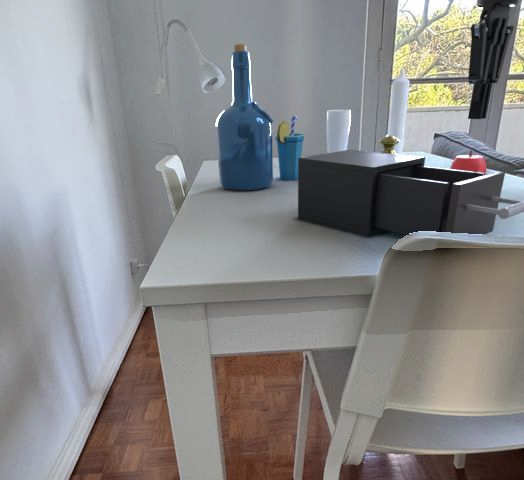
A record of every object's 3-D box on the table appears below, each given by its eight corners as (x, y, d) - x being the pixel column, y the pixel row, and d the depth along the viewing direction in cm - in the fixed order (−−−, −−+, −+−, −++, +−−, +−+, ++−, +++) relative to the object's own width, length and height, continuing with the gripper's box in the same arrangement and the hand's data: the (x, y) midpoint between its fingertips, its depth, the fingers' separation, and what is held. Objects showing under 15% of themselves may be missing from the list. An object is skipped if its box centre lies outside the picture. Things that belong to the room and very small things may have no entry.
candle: (404, 164, 141) (414, 66, 129) (406, 167, 135) (417, 66, 123) (379, 164, 142) (388, 68, 130) (380, 167, 136) (389, 67, 124)
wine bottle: (218, 192, 112) (207, 43, 97) (221, 182, 124) (212, 47, 109) (275, 190, 112) (273, 41, 97) (273, 180, 124) (271, 45, 109)
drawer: (533, 239, 71) (549, 177, 66) (491, 258, 64) (506, 191, 59) (409, 214, 85) (415, 162, 81) (364, 228, 78) (368, 172, 74)
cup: (283, 173, 133) (282, 114, 126) (309, 173, 131) (310, 113, 124) (269, 182, 122) (268, 118, 114) (298, 183, 120) (299, 117, 112)
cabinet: (417, 220, 85) (425, 157, 80) (368, 236, 78) (374, 167, 72) (346, 206, 96) (349, 149, 91) (297, 218, 89) (298, 157, 84)
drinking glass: (350, 167, 139) (353, 110, 131) (327, 168, 138) (329, 111, 131) (344, 163, 145) (347, 109, 137) (323, 164, 144) (324, 110, 137)
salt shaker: (406, 177, 122) (411, 135, 117) (386, 181, 118) (390, 138, 114) (384, 174, 127) (388, 133, 122) (365, 177, 124) (368, 136, 119)
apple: (457, 191, 105) (464, 153, 101) (440, 185, 112) (445, 149, 108) (490, 189, 106) (498, 151, 102) (471, 183, 113) (477, 147, 109)
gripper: (499, -12, 96) (476, 115, 108) (463, -19, 89) (443, 120, 100) (537, -18, 91) (509, 116, 103) (502, -26, 84) (476, 121, 95)
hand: (476, 118), depth 102 cm, fingers closed
